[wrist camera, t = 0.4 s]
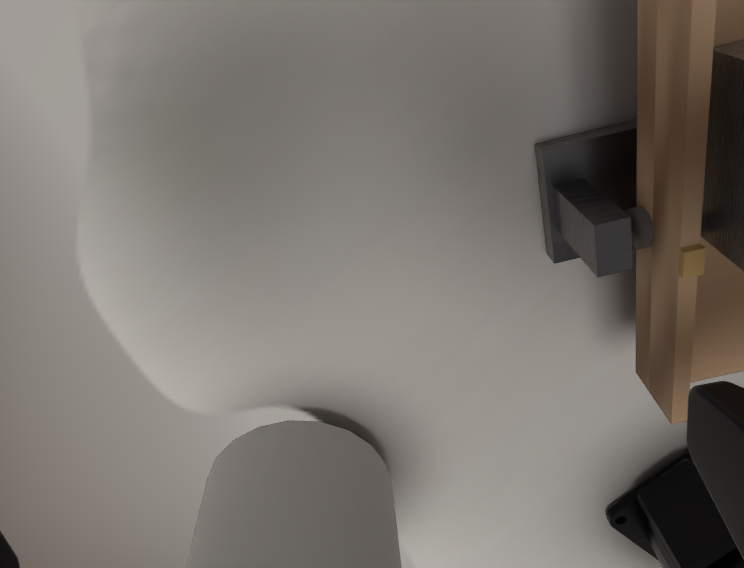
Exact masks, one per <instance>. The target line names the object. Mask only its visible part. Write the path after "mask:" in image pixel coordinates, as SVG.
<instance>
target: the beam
mask: <svg viewBox="0 0 744 568" xmlns="http://www.w3.org/2000/svg"><path fill="white" fill-rule="evenodd" d="M741 39H744V0H638V13H637V207H634V208H630V209H628V210H627V211H626V213H627V214H628V215H629V216H630V217H631V231H632V246H633V247H634V248H635V249H636V373H637V375H638V376H639V378H640V379H641V381H642V382H643V383H644V385H645V386H646V388H647V389H648V391H649V392H650V394H651V395H652V397H653V398H654V400H655V401H656V402H657V404H658V405H659V407H660V408H661V410H662V411H663V413H664V414H665V416H666V417H667V419H668V420H669V422H670V423H671V424H676V423H680V422H685V421H687V410H688V395H689V392H690V383H691V382H695V381H700V380H704V379H709V378H713V377H718V376H722V375H727V374H731V373H736V372H740V371H744V271H742V270H741V269H740V268H739V267H737V266H736V265H735V264H734V263H733V262H731V261H730V260H729V259H728V258H727V257H725V256H724V255H723V254H722V253H720V252H719V251H718V250H717V249H716V248H714V247H713V246H712V245H711V244H710V243H708V242H707V241H706V240H705V239H704V238H702V237H701V236H700V235H701V221H702V206H703V192H704V177H705V163H706V148H707V134H708V119H709V105H710V90H711V76H712V62H713V47H714V46H717V45H721V44H725V43H729V42H733V41H737V40H741Z"/></svg>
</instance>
